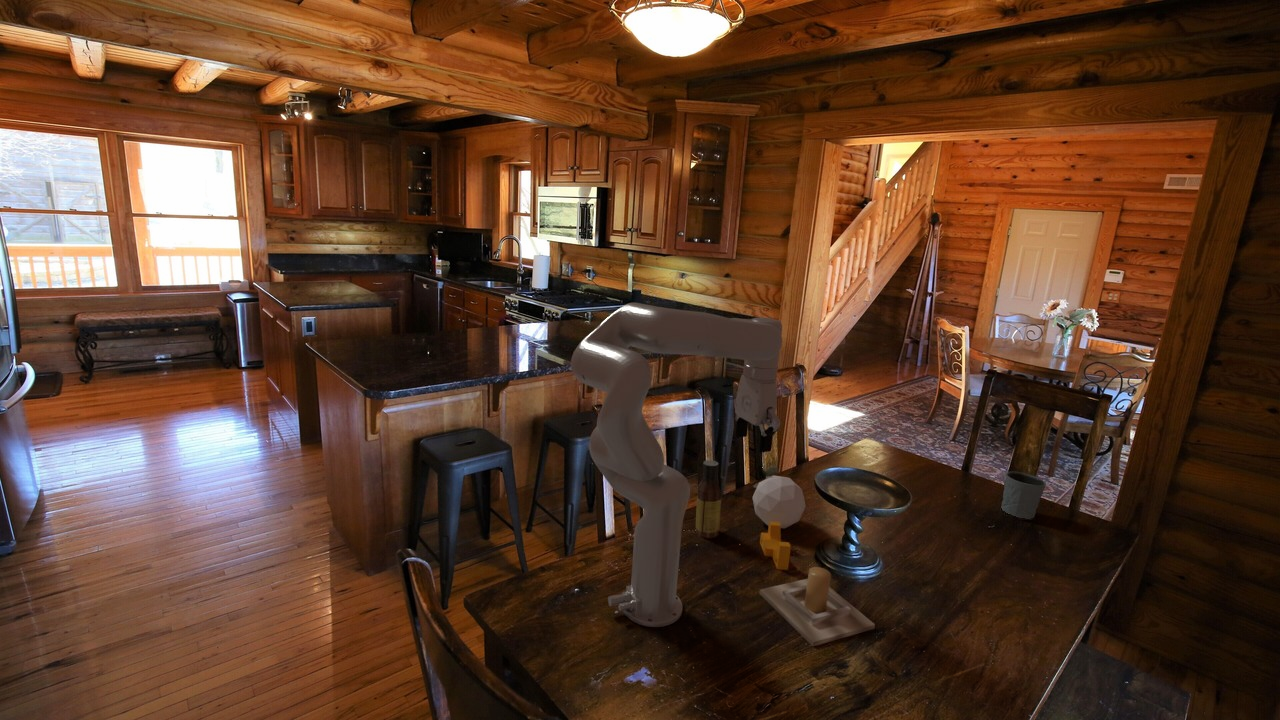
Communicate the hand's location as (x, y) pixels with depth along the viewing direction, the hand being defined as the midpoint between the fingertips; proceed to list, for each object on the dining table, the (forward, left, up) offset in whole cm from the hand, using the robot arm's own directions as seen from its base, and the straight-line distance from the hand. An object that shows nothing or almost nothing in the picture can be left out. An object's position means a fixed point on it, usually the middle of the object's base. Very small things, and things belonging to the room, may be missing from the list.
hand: (752, 443), depth 138 cm
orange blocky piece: (+9, -1, -31) cm, 32 cm away
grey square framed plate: (+5, -22, -30) cm, 38 cm away
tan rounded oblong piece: (+5, -22, -29) cm, 37 cm away
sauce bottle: (-1, +14, -31) cm, 34 cm away
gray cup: (+97, -5, -31) cm, 102 cm away
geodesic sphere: (+20, +13, -31) cm, 38 cm away
